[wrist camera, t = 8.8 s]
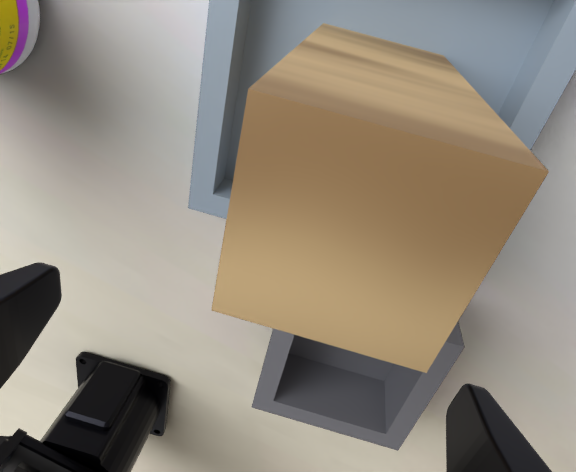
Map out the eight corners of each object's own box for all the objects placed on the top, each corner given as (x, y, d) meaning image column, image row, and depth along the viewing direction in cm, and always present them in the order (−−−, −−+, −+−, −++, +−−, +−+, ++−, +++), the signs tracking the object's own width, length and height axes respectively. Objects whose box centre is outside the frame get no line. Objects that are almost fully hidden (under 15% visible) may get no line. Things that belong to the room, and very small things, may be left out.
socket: (394, 388, 26) (397, 450, 22) (267, 351, 26) (251, 407, 23) (450, 288, 21) (464, 347, 18) (296, 245, 22) (282, 295, 18)
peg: (399, 167, 18) (426, 372, 9) (295, 138, 18) (211, 310, 9) (443, 55, 15) (549, 171, 6) (323, 23, 16) (248, 88, 6)
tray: (447, 251, 20) (455, 283, 18) (206, 184, 21) (188, 208, 19) (599, -42, 14) (639, -45, 12) (246, -131, 14) (224, -150, 12)
